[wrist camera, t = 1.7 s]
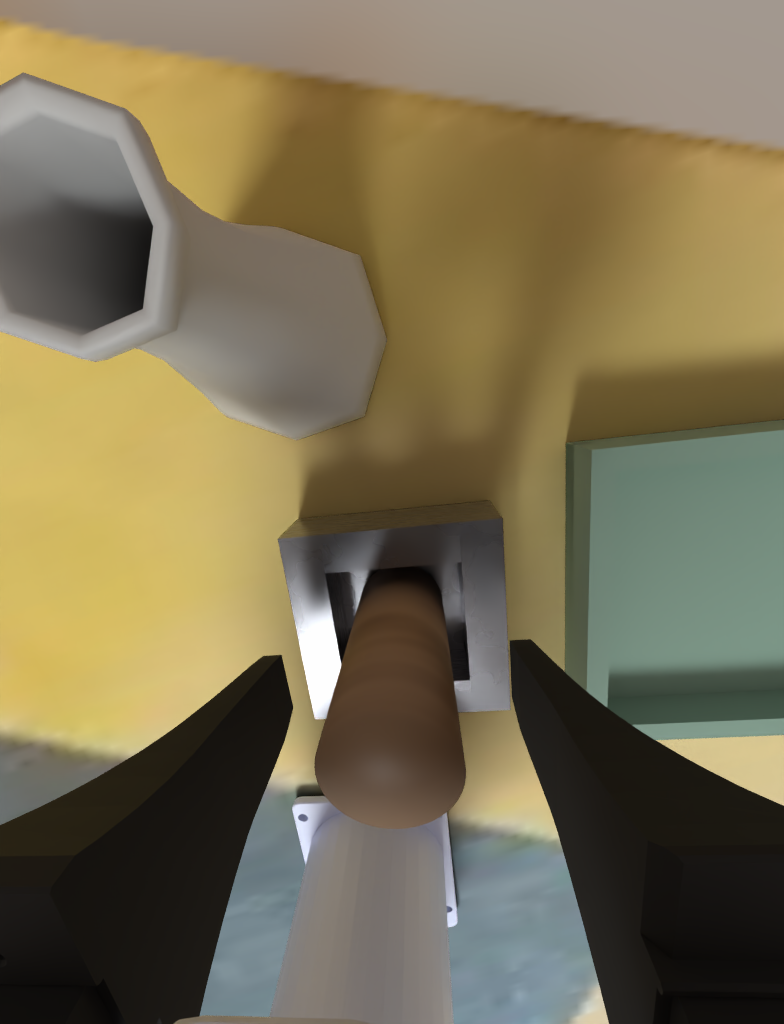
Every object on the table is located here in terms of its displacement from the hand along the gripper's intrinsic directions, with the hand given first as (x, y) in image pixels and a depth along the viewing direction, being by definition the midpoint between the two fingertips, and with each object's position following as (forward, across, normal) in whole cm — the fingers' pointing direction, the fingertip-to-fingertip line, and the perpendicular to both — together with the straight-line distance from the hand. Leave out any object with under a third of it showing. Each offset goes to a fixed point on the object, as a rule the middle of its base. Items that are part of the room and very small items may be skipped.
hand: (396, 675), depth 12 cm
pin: (+5, 0, 0) cm, 5 cm away
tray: (+5, -13, 0) cm, 14 cm away
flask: (+6, +3, -11) cm, 12 cm away
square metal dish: (+5, 0, 0) cm, 5 cm away
